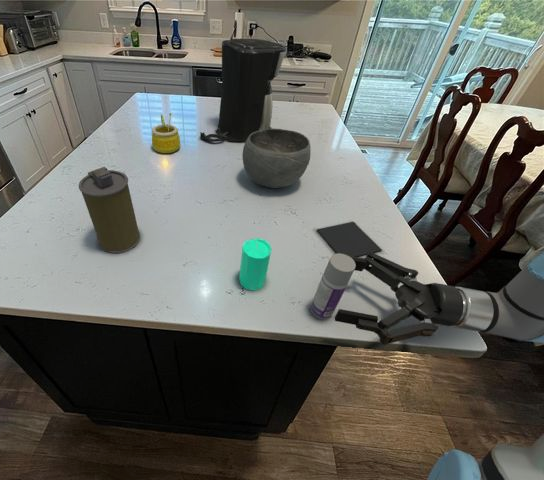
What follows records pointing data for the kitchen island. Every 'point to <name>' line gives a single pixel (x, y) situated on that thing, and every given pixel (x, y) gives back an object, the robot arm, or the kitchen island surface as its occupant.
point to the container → (332, 285)
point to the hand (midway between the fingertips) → (334, 285)
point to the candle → (254, 263)
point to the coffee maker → (246, 87)
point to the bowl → (276, 157)
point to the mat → (348, 240)
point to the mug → (165, 137)
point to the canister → (110, 209)
